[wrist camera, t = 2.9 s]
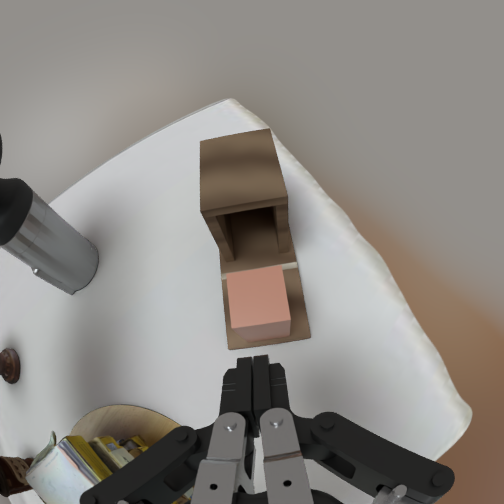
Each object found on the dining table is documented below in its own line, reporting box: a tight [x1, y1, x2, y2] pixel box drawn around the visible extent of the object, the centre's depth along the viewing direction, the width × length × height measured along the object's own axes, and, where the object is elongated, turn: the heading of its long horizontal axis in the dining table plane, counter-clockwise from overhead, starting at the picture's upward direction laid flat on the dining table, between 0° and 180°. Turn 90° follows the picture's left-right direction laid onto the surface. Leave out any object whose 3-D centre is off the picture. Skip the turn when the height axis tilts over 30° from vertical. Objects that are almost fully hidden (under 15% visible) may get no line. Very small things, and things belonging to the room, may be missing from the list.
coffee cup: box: [0, 456, 34, 497], centre depth 18 cm, size 9×8×13 cm
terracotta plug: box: [226, 265, 291, 342], centre depth 28 cm, size 5×5×10 cm
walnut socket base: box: [200, 128, 311, 350], centre depth 31 cm, size 22×10×13 cm, turn 7°
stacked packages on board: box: [25, 405, 195, 504], centre depth 17 cm, size 25×25×17 cm
